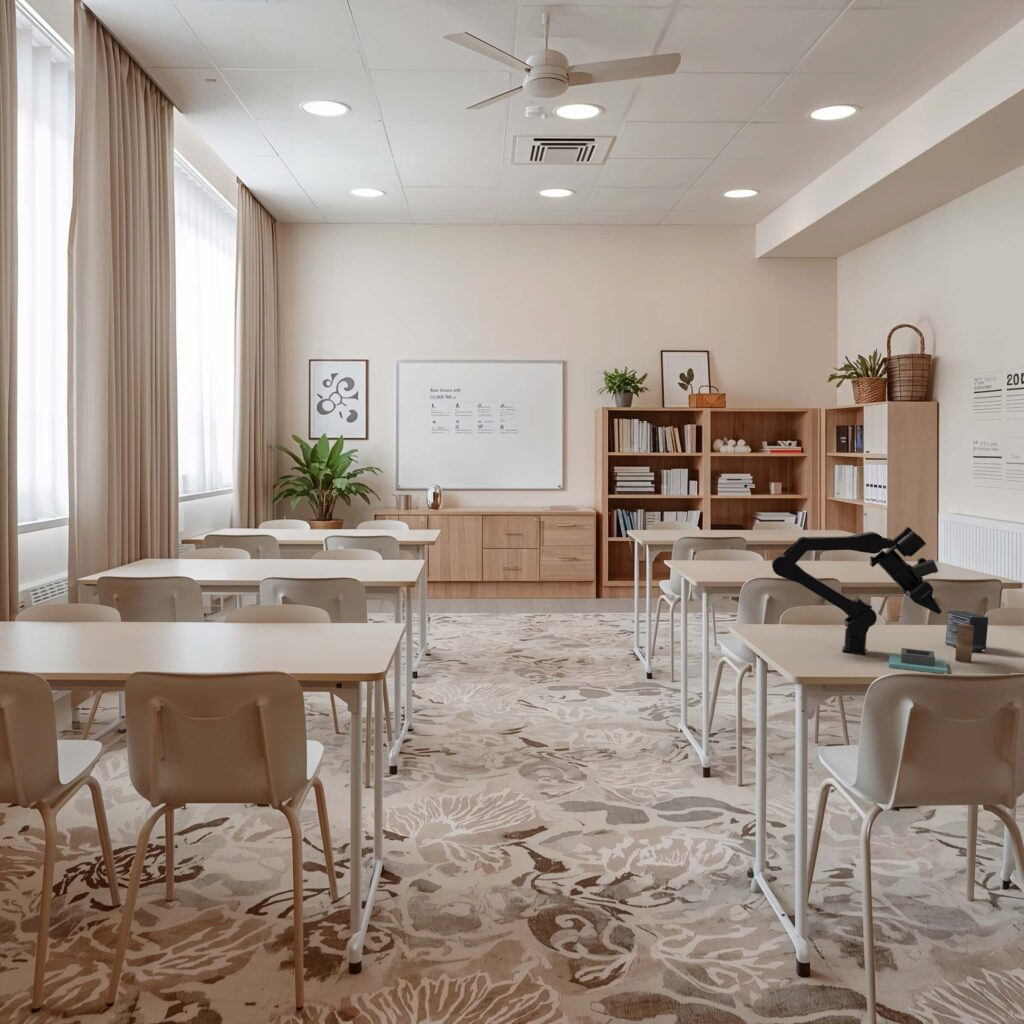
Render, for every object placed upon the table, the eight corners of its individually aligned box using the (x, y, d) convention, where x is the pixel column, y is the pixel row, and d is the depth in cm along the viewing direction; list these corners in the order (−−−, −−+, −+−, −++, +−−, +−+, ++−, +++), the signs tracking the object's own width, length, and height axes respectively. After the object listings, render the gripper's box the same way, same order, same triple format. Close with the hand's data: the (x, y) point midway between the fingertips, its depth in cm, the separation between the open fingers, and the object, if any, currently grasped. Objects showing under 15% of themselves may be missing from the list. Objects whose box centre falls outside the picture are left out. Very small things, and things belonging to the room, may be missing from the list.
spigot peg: (954, 658, 251) (957, 623, 250) (970, 660, 249) (973, 625, 249) (955, 661, 247) (958, 625, 246) (971, 663, 246) (974, 627, 245)
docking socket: (888, 657, 250) (889, 644, 250) (944, 663, 245) (945, 650, 244) (888, 667, 237) (889, 654, 237) (947, 674, 232) (948, 661, 231)
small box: (987, 652, 261) (990, 616, 260) (967, 652, 260) (970, 616, 259) (963, 644, 272) (966, 610, 271) (944, 644, 271) (946, 610, 270)
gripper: (926, 552, 240) (968, 596, 238) (914, 546, 258) (953, 586, 256) (893, 579, 243) (934, 623, 241) (883, 571, 261) (921, 611, 259)
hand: (936, 610), depth 249 cm, fingers open, 9 cm apart
